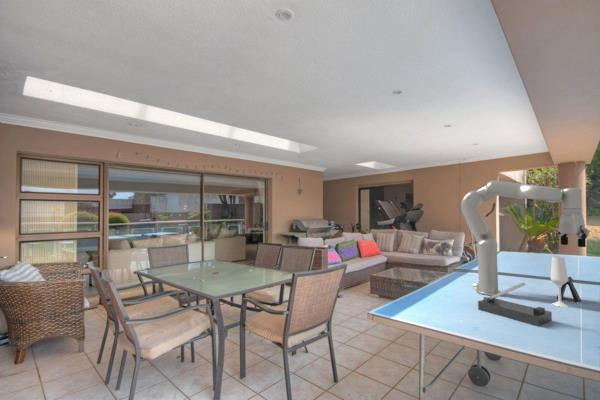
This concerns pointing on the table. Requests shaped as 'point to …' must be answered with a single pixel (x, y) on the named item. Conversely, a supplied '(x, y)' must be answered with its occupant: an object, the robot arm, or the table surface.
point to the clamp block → (516, 311)
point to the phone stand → (572, 289)
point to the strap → (506, 291)
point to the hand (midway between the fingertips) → (572, 245)
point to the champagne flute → (559, 276)
